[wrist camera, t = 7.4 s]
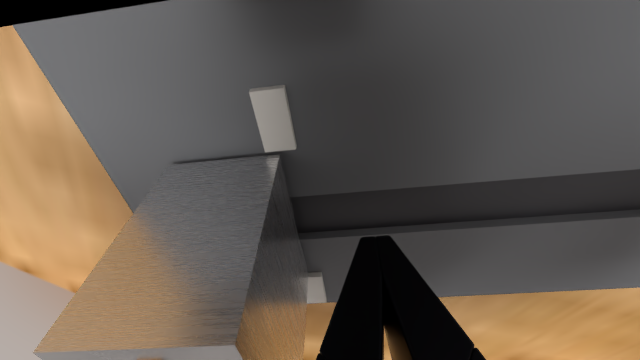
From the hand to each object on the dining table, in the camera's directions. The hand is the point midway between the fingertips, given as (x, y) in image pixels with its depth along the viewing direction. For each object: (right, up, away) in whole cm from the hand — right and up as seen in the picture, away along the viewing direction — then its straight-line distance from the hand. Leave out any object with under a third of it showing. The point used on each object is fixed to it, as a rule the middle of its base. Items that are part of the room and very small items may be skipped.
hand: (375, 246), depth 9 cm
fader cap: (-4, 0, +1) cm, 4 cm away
